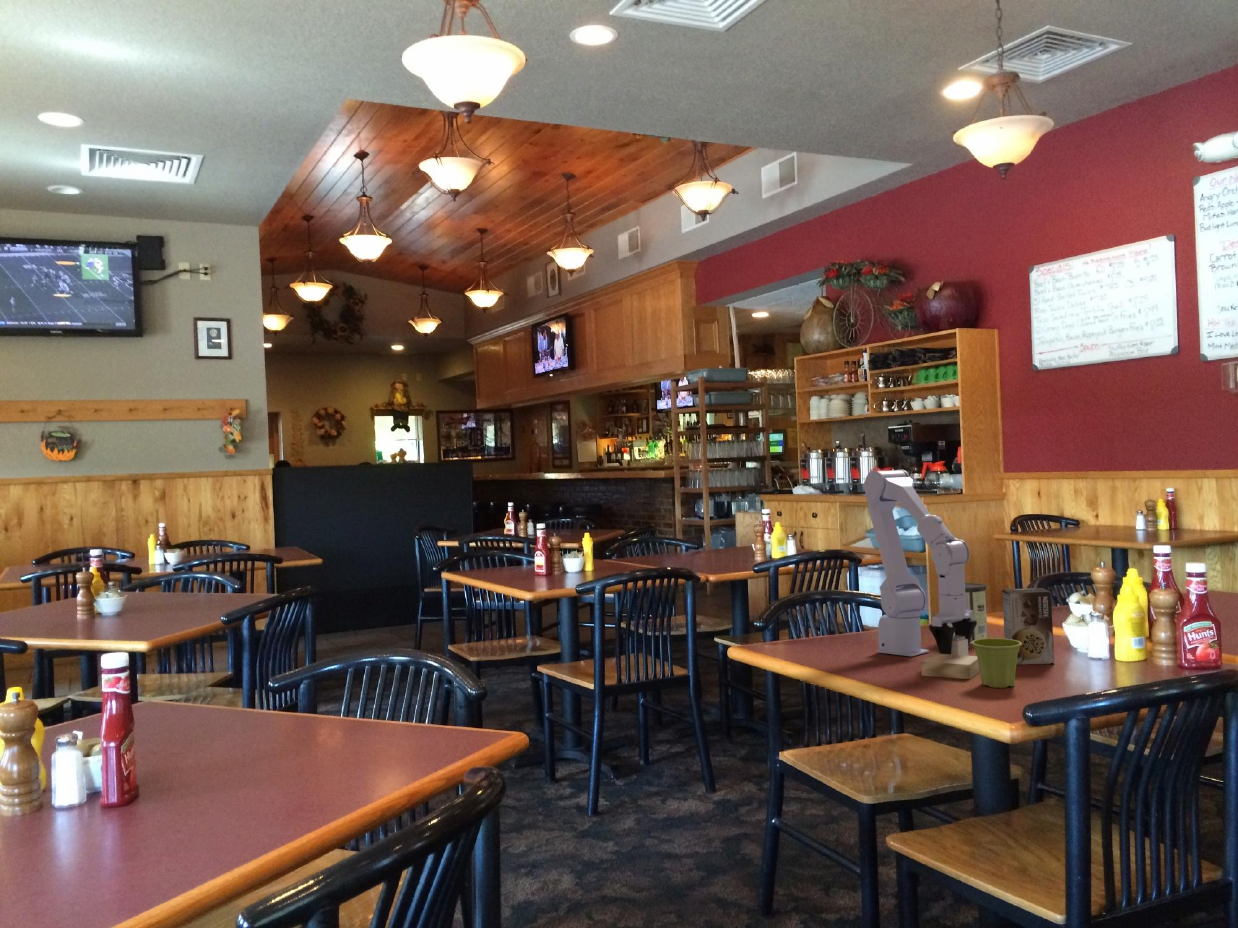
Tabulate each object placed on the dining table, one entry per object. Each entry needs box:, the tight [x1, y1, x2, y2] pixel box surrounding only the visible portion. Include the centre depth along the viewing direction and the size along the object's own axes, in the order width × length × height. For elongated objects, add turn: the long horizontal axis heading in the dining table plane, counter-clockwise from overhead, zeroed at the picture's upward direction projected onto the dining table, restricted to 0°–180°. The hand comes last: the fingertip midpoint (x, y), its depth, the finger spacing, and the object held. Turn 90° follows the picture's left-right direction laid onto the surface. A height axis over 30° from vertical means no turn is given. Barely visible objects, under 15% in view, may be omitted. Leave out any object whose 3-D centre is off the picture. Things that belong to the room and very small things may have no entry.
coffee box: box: [1001, 587, 1056, 666], centre depth 223 cm, size 9×6×16 cm
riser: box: [920, 652, 980, 680], centre depth 214 cm, size 10×10×3 cm
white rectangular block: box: [951, 635, 969, 656], centre depth 224 cm, size 4×4×6 cm
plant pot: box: [971, 637, 1022, 689], centre depth 201 cm, size 9×9×9 cm
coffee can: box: [947, 582, 989, 645], centre depth 251 cm, size 10×10×14 cm
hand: (954, 654), depth 224 cm, fingers open, 7 cm apart
